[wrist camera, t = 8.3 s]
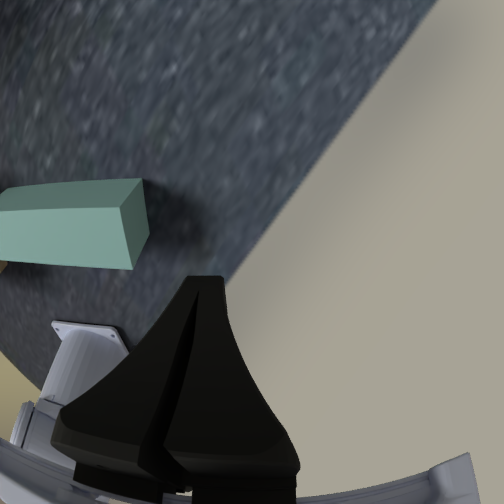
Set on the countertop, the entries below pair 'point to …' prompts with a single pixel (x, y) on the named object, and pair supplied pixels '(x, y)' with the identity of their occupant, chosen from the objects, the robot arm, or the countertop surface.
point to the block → (2, 265)
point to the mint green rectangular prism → (75, 223)
